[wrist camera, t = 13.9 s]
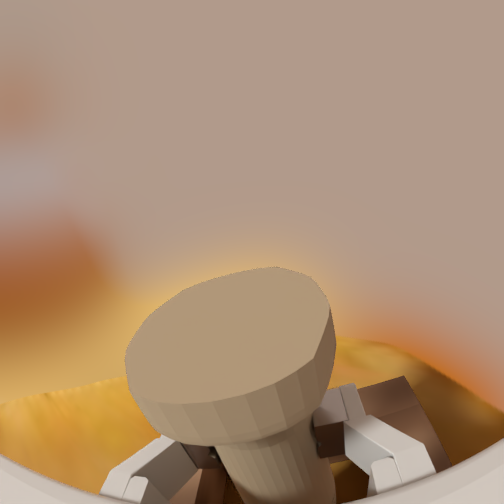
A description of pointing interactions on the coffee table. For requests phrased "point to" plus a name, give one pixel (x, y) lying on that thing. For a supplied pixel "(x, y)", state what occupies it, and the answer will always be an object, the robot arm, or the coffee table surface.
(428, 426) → the collar
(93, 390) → the coffee table surface
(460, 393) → the coffee table surface
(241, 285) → the beige bolt
